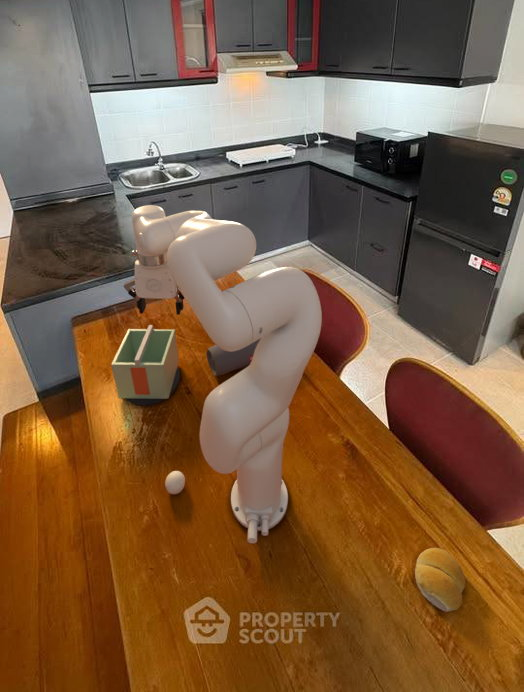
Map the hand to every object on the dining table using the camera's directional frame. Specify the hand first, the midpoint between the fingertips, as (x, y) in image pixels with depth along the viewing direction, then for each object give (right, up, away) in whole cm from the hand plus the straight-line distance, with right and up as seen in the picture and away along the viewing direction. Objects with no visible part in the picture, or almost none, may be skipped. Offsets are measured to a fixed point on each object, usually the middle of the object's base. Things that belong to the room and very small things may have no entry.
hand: (161, 310), depth 100 cm
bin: (-7, -23, +13) cm, 27 cm away
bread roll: (+60, -45, -29) cm, 80 cm away
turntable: (-7, -24, +13) cm, 28 cm away
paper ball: (+7, -35, -15) cm, 39 cm away
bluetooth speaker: (+22, -21, +20) cm, 36 cm away
